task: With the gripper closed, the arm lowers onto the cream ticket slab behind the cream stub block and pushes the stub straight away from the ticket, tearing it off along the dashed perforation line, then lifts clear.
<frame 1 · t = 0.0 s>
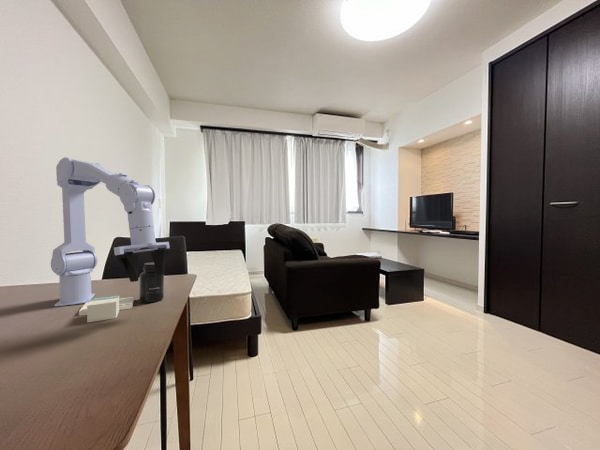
hand: (148, 278, 68), 11 cm above the table, tool pointing down, fingers open, 7 cm apart
ticket: (108, 307, 75), on the table
supplement bottle: (151, 300, 82), on the table
stub: (104, 316, 68), on the table
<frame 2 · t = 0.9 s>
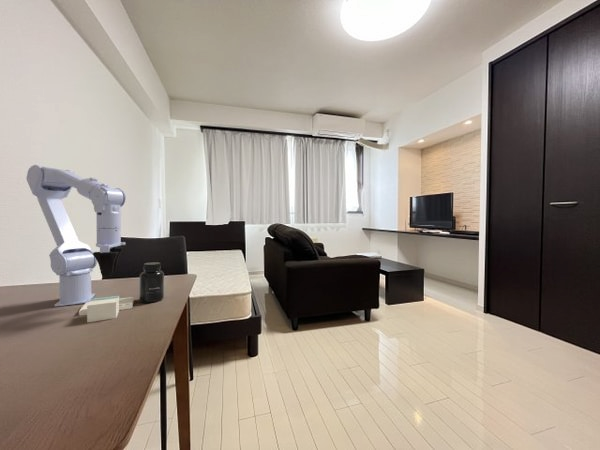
hand: (109, 273, 75), 10 cm above the table, tool pointing down, fingers open, 7 cm apart
nothing on the table moved.
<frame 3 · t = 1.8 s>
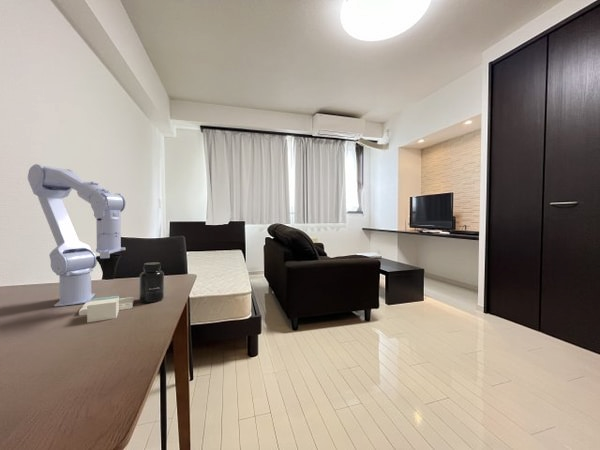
hand: (109, 279, 75), 8 cm above the table, tool pointing down, fingers closed
nothing on the table moved.
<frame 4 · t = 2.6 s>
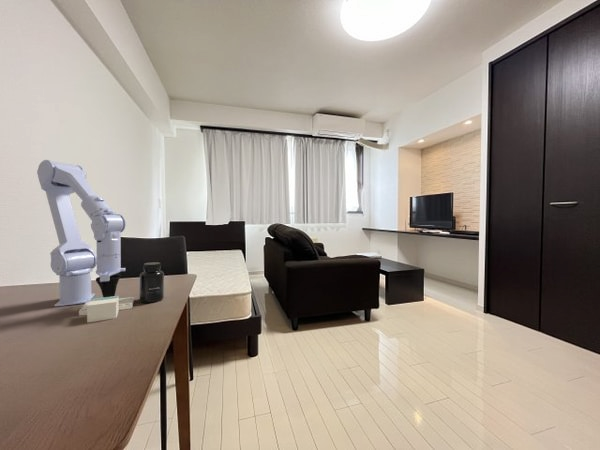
hand: (109, 300, 75), 2 cm above the table, tool pointing down, fingers closed
nothing on the table moved.
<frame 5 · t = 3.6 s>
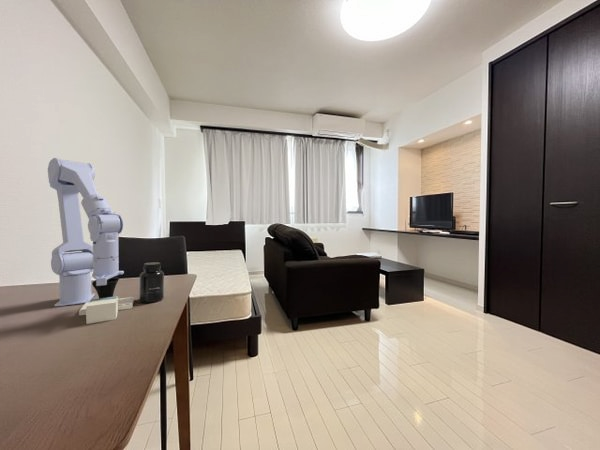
hand: (106, 304, 71), 2 cm above the table, tool pointing down, fingers closed
stub: (103, 317, 67), on the table, touching gripper
everything else where it was.
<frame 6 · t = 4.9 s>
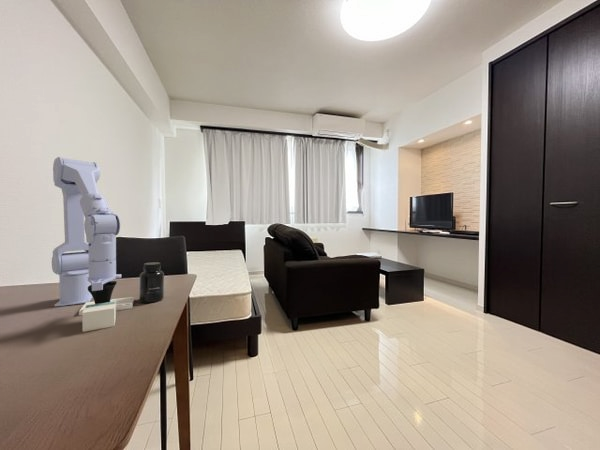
hand: (103, 310, 67), 2 cm above the table, tool pointing down, fingers closed
stub: (100, 324, 63), on the table, touching gripper
everything else where it was.
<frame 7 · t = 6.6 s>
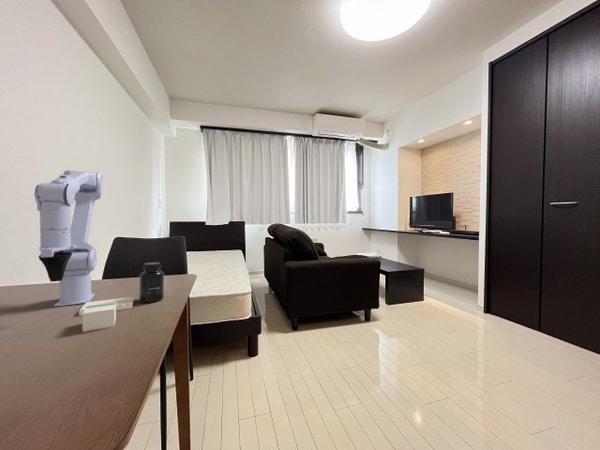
hand: (56, 280, 67), 10 cm above the table, tool pointing down, fingers closed
stub: (100, 325, 63), on the table
everything else where it was.
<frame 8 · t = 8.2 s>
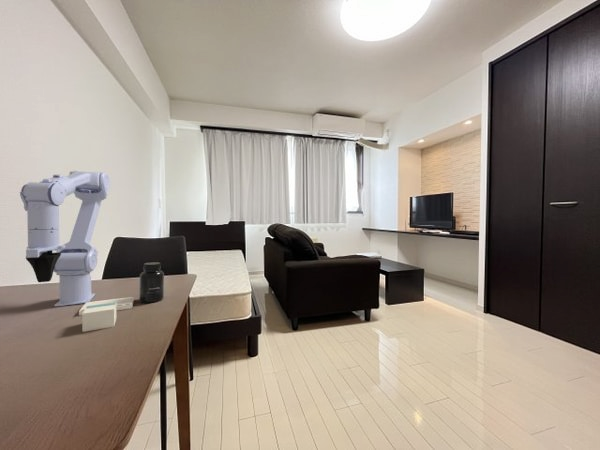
hand: (44, 281, 66), 10 cm above the table, tool pointing down, fingers closed
nothing on the table moved.
at the end: stub inside the target area (0.3 cm from its centre), on the table; stub tilted 0°; stub touching table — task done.
